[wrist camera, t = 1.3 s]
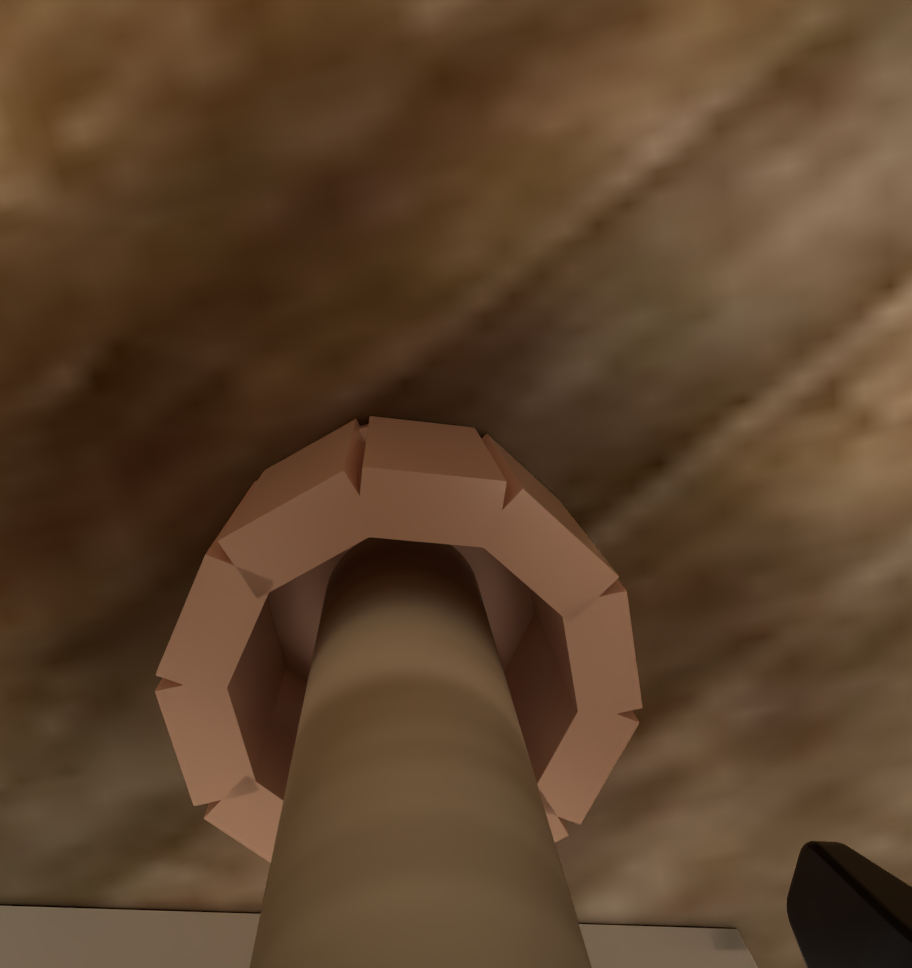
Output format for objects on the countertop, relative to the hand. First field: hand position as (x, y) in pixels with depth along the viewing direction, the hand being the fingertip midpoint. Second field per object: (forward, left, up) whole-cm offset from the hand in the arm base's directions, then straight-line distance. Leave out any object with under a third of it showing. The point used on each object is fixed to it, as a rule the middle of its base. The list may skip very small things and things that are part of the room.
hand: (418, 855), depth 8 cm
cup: (0, 0, -7) cm, 7 cm away
